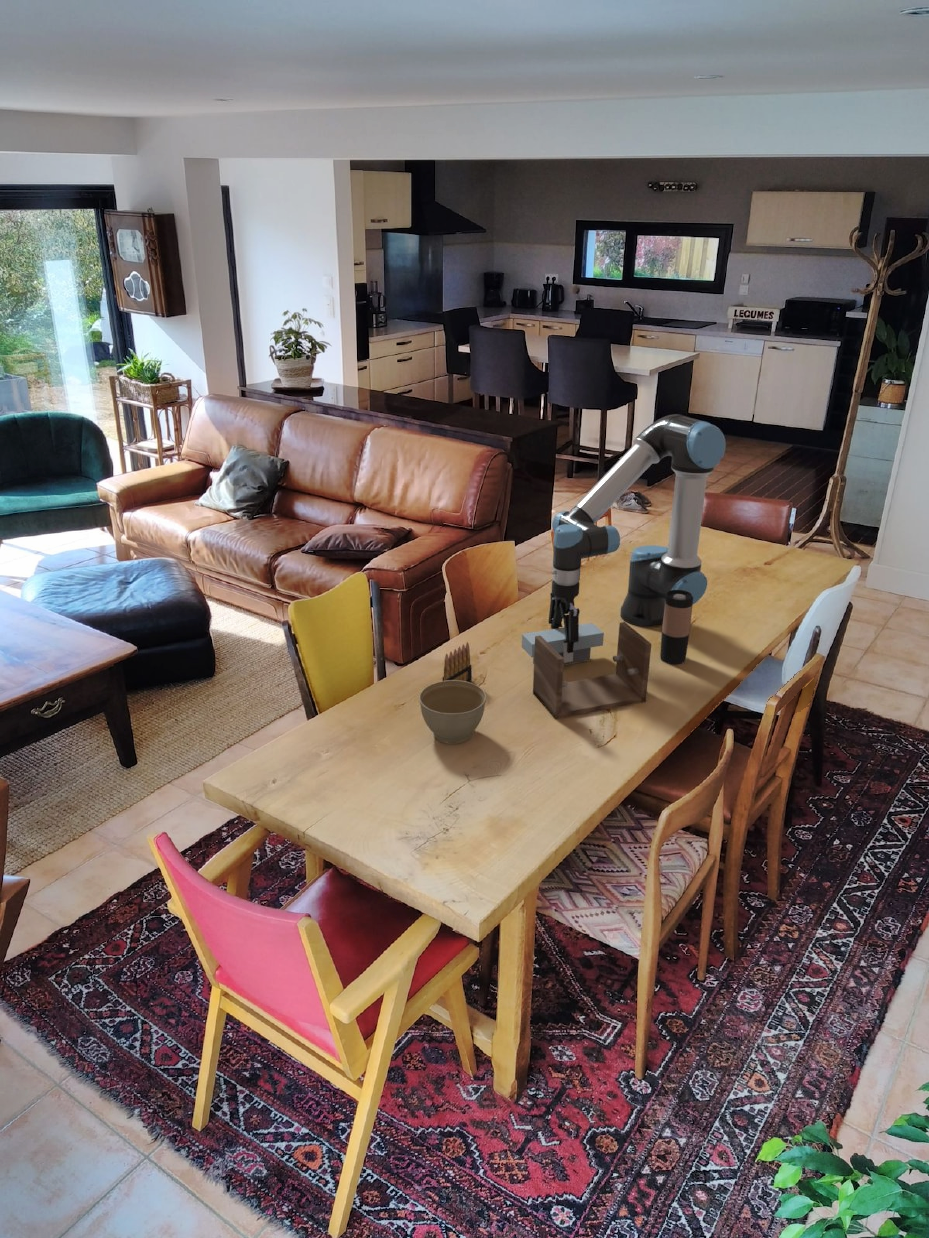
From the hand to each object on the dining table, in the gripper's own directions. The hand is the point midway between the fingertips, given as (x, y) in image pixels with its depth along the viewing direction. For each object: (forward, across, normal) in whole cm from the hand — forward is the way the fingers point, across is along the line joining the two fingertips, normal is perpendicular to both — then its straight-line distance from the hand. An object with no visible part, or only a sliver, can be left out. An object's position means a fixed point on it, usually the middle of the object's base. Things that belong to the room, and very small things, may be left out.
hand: (561, 655), depth 259 cm
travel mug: (+2, +9, +31) cm, 32 cm away
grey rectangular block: (+2, 0, 0) cm, 2 cm away
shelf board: (-3, 0, 0) cm, 3 cm away
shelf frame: (+2, +21, -2) cm, 21 cm away
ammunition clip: (+2, +4, -33) cm, 33 cm away
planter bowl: (+2, +26, -42) cm, 49 cm away
